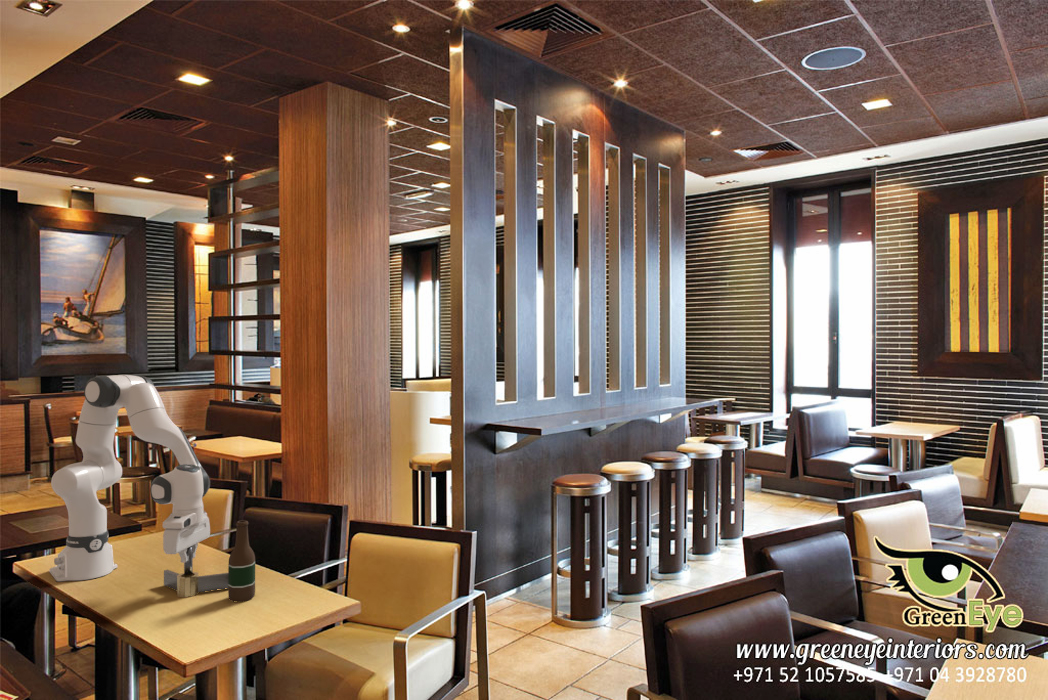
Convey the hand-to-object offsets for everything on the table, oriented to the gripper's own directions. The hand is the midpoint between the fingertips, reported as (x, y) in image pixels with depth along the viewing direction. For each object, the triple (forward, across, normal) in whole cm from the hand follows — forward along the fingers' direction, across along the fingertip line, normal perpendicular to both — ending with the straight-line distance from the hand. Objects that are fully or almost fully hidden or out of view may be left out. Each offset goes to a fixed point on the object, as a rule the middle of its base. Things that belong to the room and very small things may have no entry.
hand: (188, 560), depth 218 cm
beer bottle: (+11, +2, +19) cm, 22 cm away
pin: (+4, 0, 0) cm, 4 cm away
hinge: (+11, -6, -1) cm, 12 cm away
